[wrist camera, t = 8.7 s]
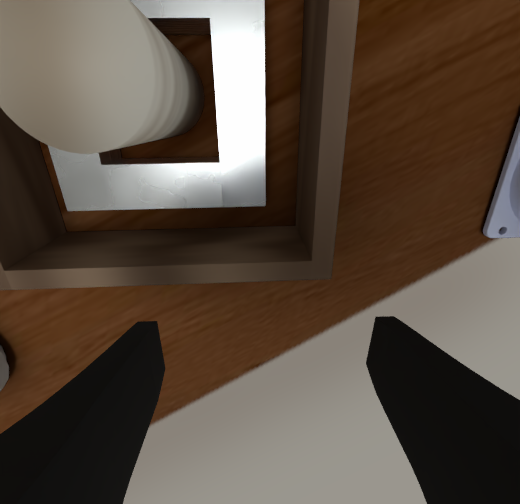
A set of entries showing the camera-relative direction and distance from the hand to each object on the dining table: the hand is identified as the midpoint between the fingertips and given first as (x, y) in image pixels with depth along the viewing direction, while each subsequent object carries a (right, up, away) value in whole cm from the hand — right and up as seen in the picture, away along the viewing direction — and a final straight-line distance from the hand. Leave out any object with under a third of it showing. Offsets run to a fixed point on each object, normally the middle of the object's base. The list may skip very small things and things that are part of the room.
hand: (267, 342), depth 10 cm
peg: (-5, +11, +5) cm, 13 cm away
